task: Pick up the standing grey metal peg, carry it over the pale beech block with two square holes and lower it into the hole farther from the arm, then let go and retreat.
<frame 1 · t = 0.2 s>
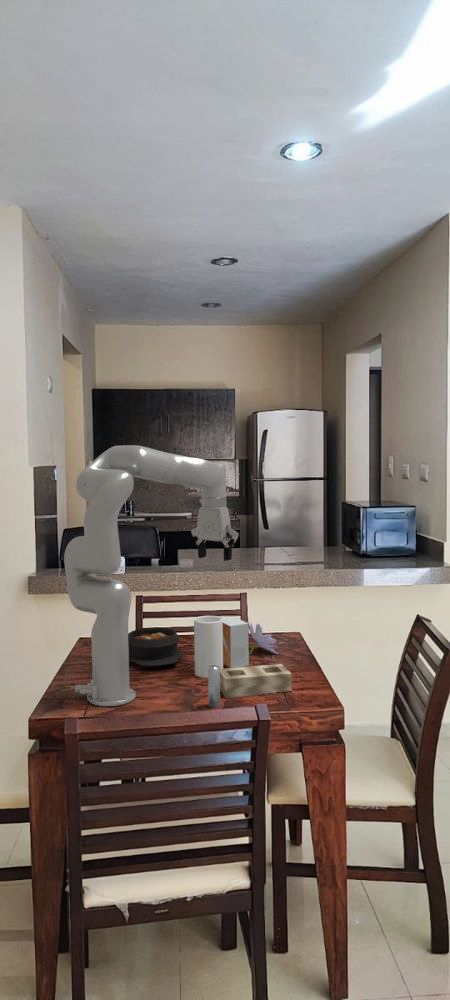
hand: (214, 558, 225), 31 cm above the table, tool pointing down, fingers open, 9 cm apart
casserole: (152, 660, 227), on the table
cup: (209, 674, 212), on the table
peg: (214, 705, 186), on the table
water lily: (263, 653, 233), on the table
hole block: (254, 689, 198), on the table
small box: (233, 664, 221), on the table
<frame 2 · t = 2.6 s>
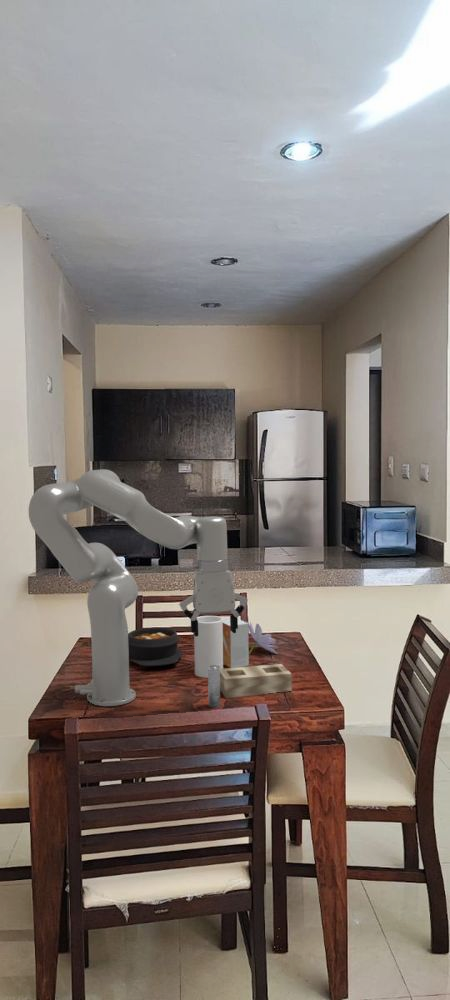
hand: (214, 633, 185), 19 cm above the table, tool pointing down, fingers open, 9 cm apart
nothing on the table moved.
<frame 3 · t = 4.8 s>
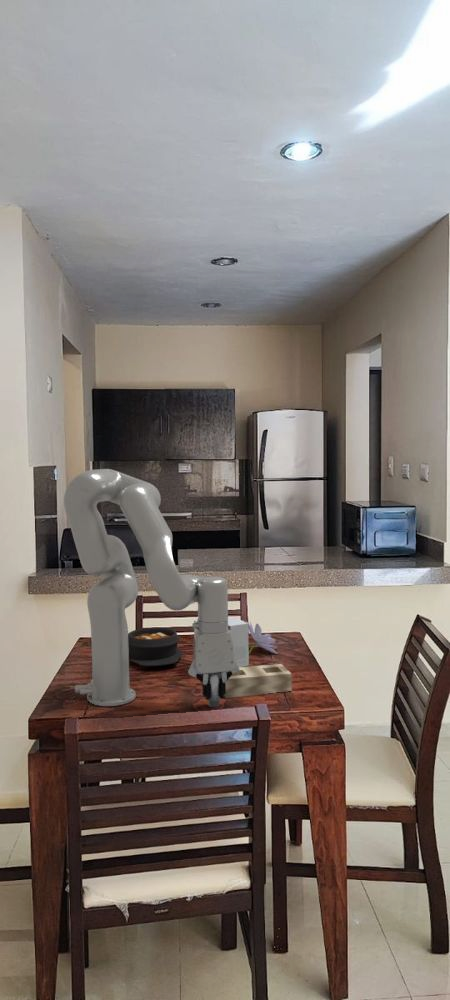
hand: (214, 697, 186), 2 cm above the table, tool pointing down, fingers closed on peg, 3 cm apart
peg: (214, 705, 186), on the table, touching gripper
everything else where it was.
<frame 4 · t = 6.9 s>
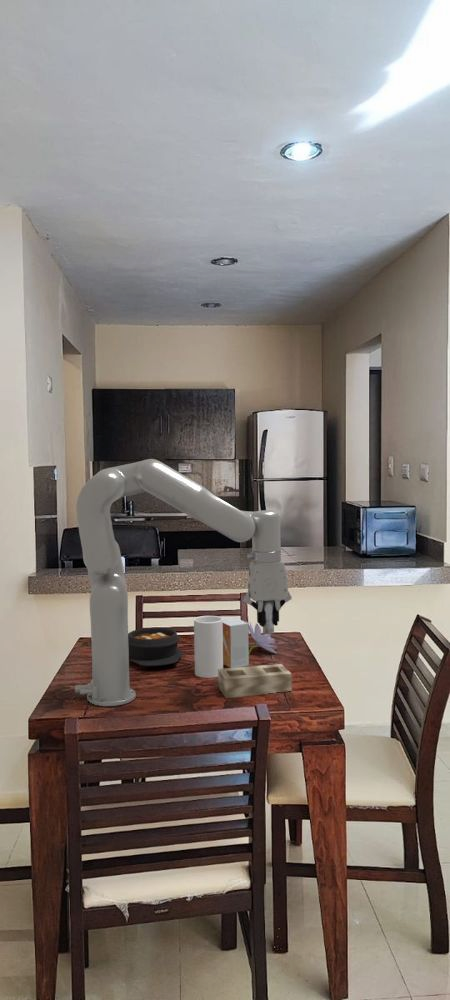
hand: (268, 624, 196), 18 cm above the table, tool pointing down, fingers closed on peg, 3 cm apart
peg: (268, 632, 197), point 16 cm above the table, touching gripper
everything else where it was.
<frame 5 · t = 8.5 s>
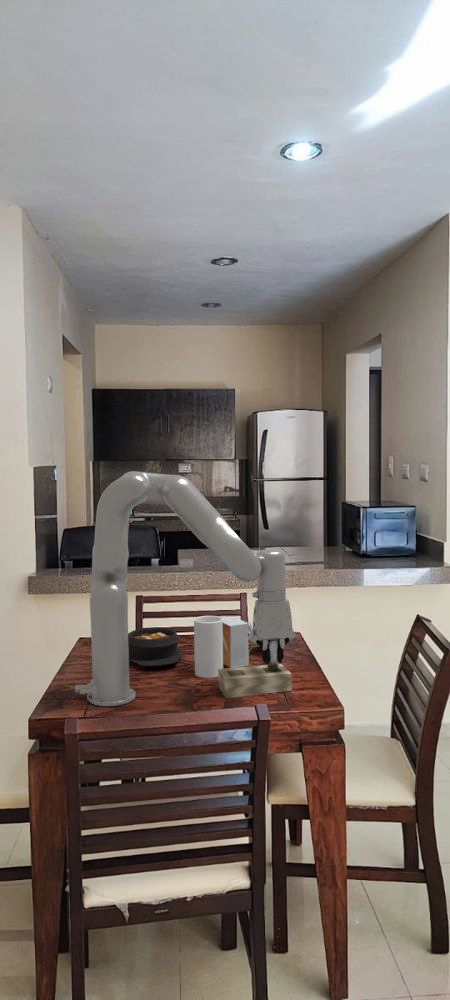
hand: (272, 661, 198), 7 cm above the table, tool pointing down, fingers closed on peg, 3 cm apart
peg: (272, 669, 198), point 5 cm above the table, touching gripper
everything else where it was.
when the fingers open (5 cm above the table, at t = 9.4 s): peg drops 3 cm, resting in hole block.
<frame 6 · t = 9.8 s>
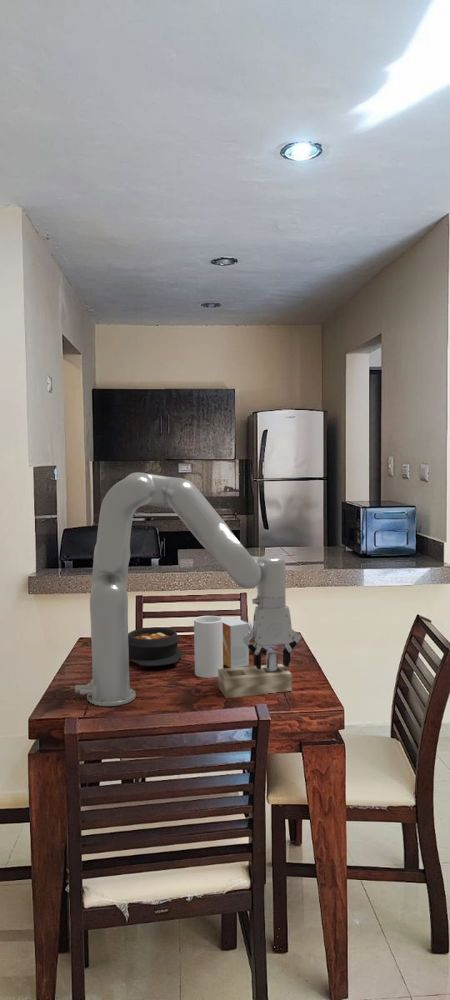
hand: (272, 666, 198), 6 cm above the table, tool pointing down, fingers open, 7 cm apart
peg: (271, 688, 199), resting in hole block
everything else where it was.
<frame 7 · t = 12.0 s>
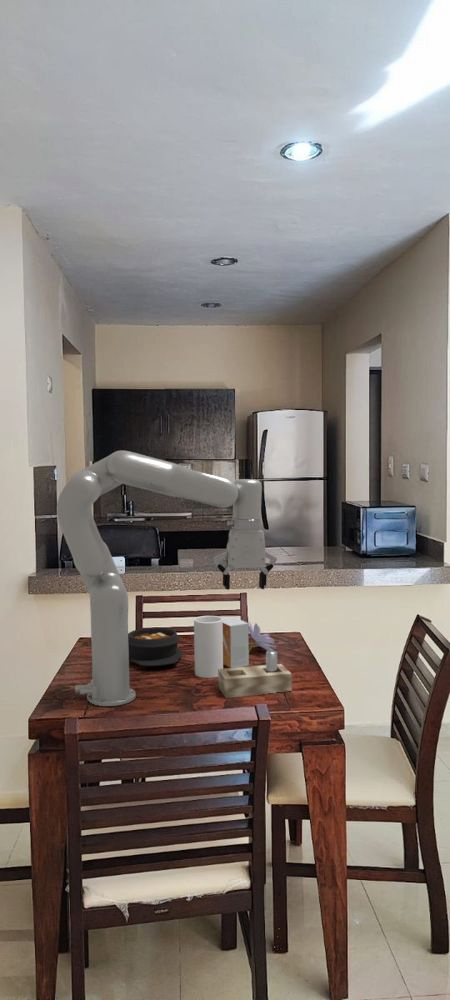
hand: (244, 588, 198), 27 cm above the table, tool pointing down, fingers open, 9 cm apart
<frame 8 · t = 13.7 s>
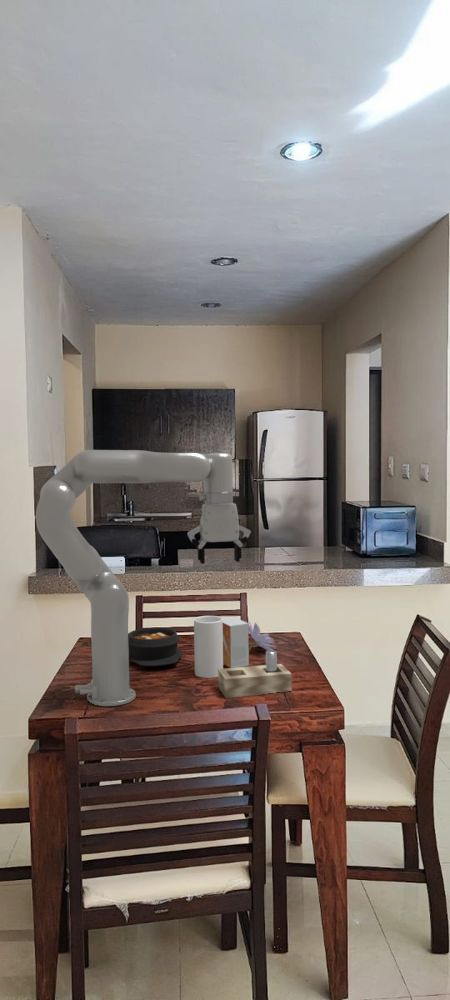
hand: (219, 562, 198), 34 cm above the table, tool pointing down, fingers open, 9 cm apart
at the end: peg 0.2 cm from the target spot on the hole block, point 0.0 cm above the hole block's base; peg tilted 0°; the gripper is holding nothing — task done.
